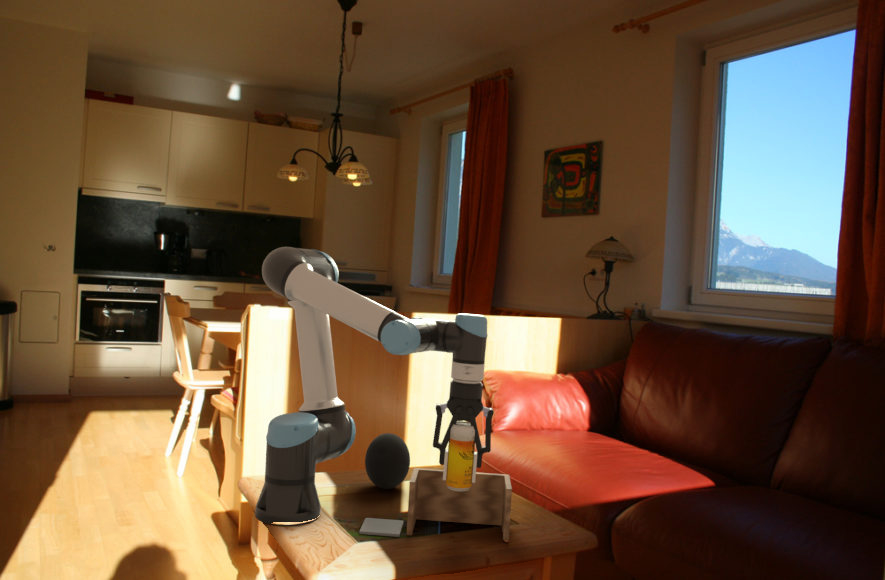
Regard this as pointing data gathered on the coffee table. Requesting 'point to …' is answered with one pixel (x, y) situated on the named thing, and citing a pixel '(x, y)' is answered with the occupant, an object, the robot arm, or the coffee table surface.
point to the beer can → (460, 456)
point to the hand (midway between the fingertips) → (459, 479)
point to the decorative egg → (387, 461)
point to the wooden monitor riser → (460, 500)
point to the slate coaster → (381, 527)
